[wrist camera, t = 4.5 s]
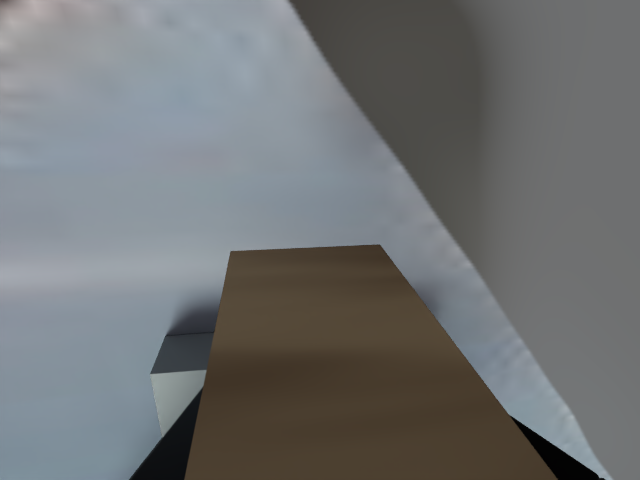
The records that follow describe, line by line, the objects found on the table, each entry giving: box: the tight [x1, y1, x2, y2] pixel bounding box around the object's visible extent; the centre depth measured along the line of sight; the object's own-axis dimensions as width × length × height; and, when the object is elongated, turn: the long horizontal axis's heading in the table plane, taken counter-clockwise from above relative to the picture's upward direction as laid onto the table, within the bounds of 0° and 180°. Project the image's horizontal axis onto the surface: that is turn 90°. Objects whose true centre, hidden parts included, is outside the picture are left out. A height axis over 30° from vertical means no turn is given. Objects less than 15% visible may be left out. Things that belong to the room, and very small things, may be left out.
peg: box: [184, 245, 558, 480], centre depth 7 cm, size 4×4×9 cm
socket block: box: [150, 333, 214, 437], centre depth 22 cm, size 13×13×3 cm
